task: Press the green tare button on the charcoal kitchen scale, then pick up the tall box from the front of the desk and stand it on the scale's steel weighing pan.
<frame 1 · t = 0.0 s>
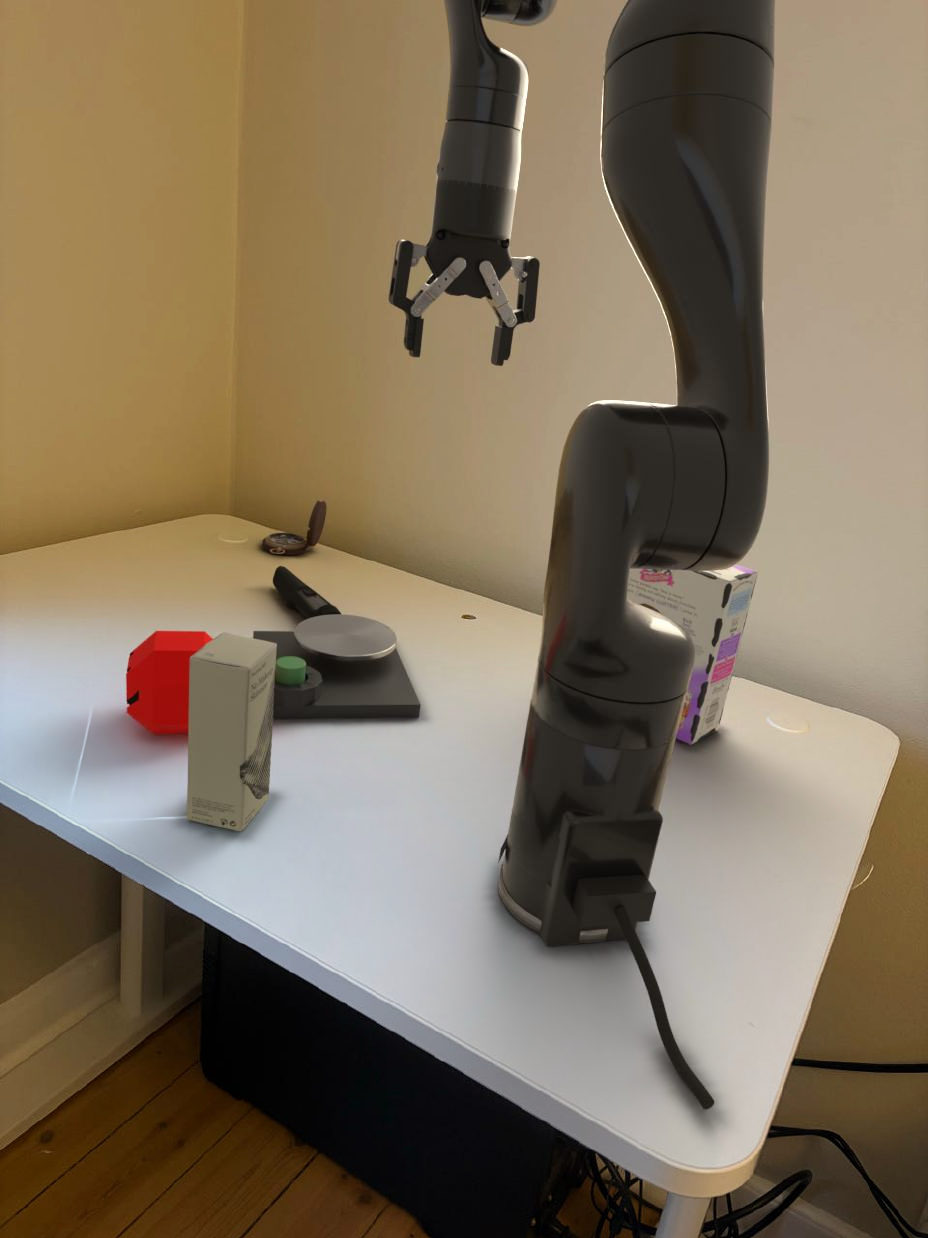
hand: (456, 360, 91), 29 cm above the table, tool pointing down, fingers open, 8 cm apart
red chamfered polyhedron: (179, 725, 77), on the table
box: (229, 811, 67), on the table
candy box: (643, 711, 91), on the table
tare button: (290, 671, 81), point 4 cm above the table, slide at 0.1 cm
compass: (289, 553, 121), on the table
electric trimmer: (304, 615, 102), on the table
scale: (331, 678, 88), on the table
weighing pan: (345, 639, 90), resting on scale
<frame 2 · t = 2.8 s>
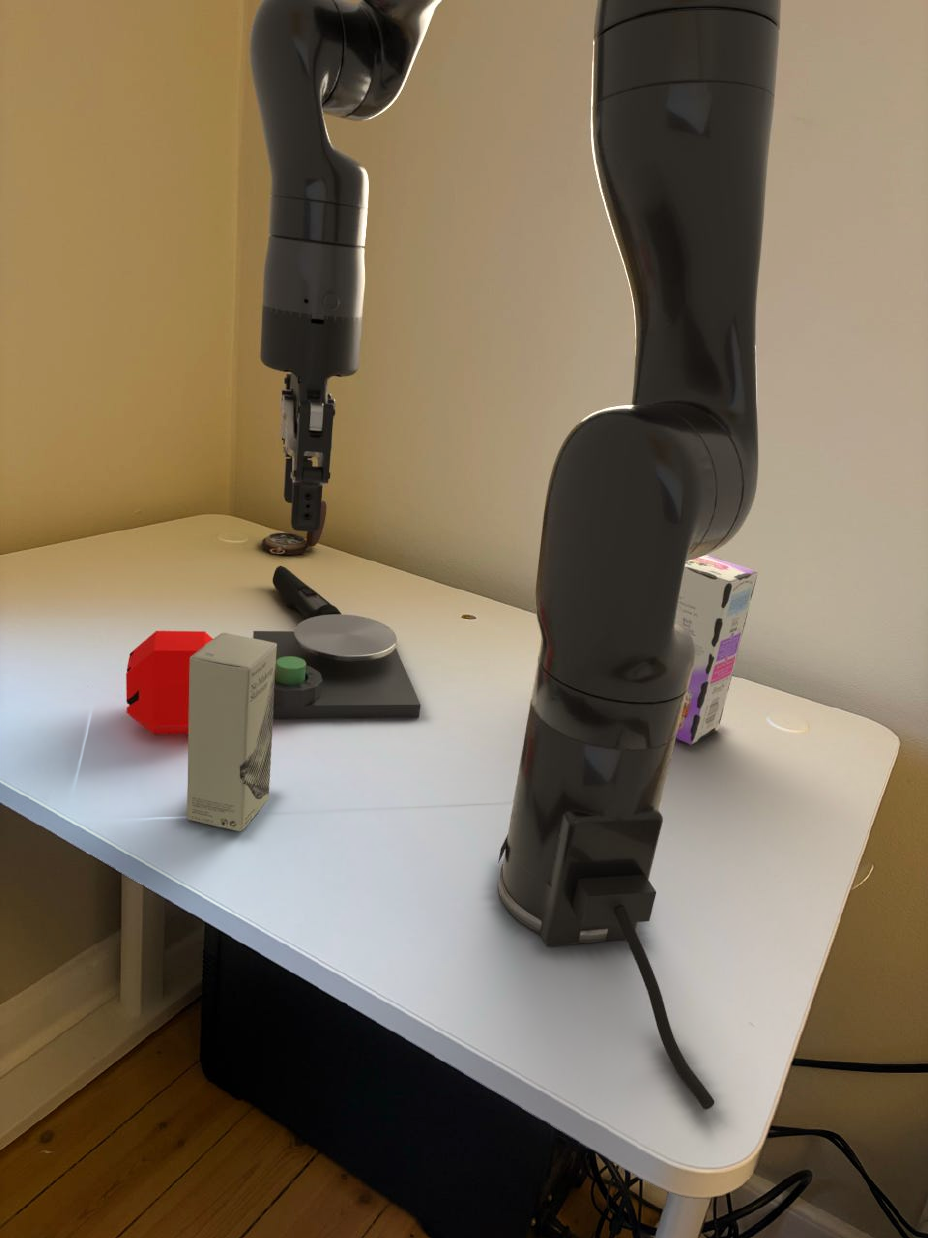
hand: (300, 515, 76), 18 cm above the table, tool pointing down, fingers open, 7 cm apart
nothing on the table moved.
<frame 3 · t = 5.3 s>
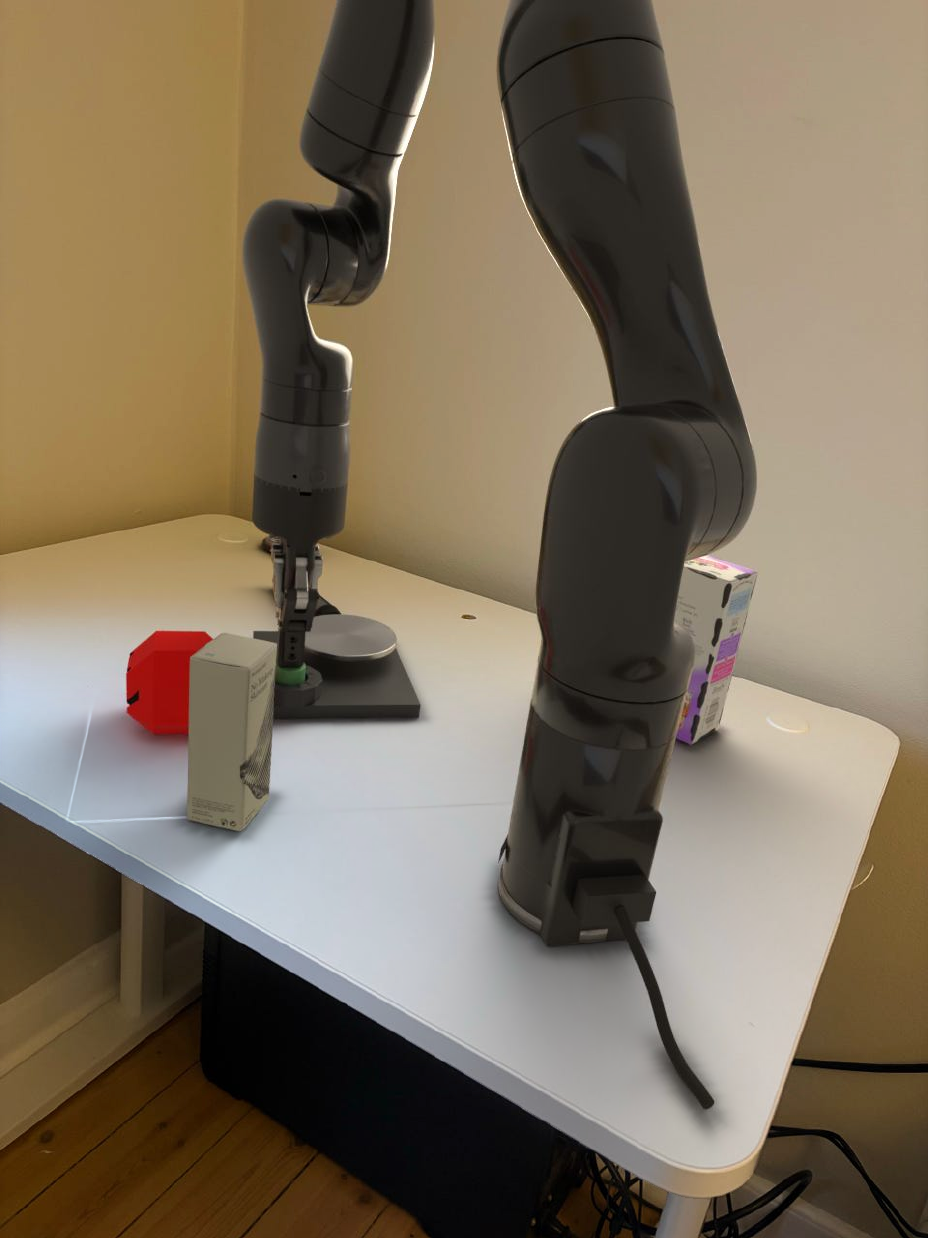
hand: (289, 664, 81), 4 cm above the table, tool pointing down, fingers closed
tare button: (290, 673, 81), point 3 cm above the table, slide at -0.1 cm, touching gripper
everything else where it was.
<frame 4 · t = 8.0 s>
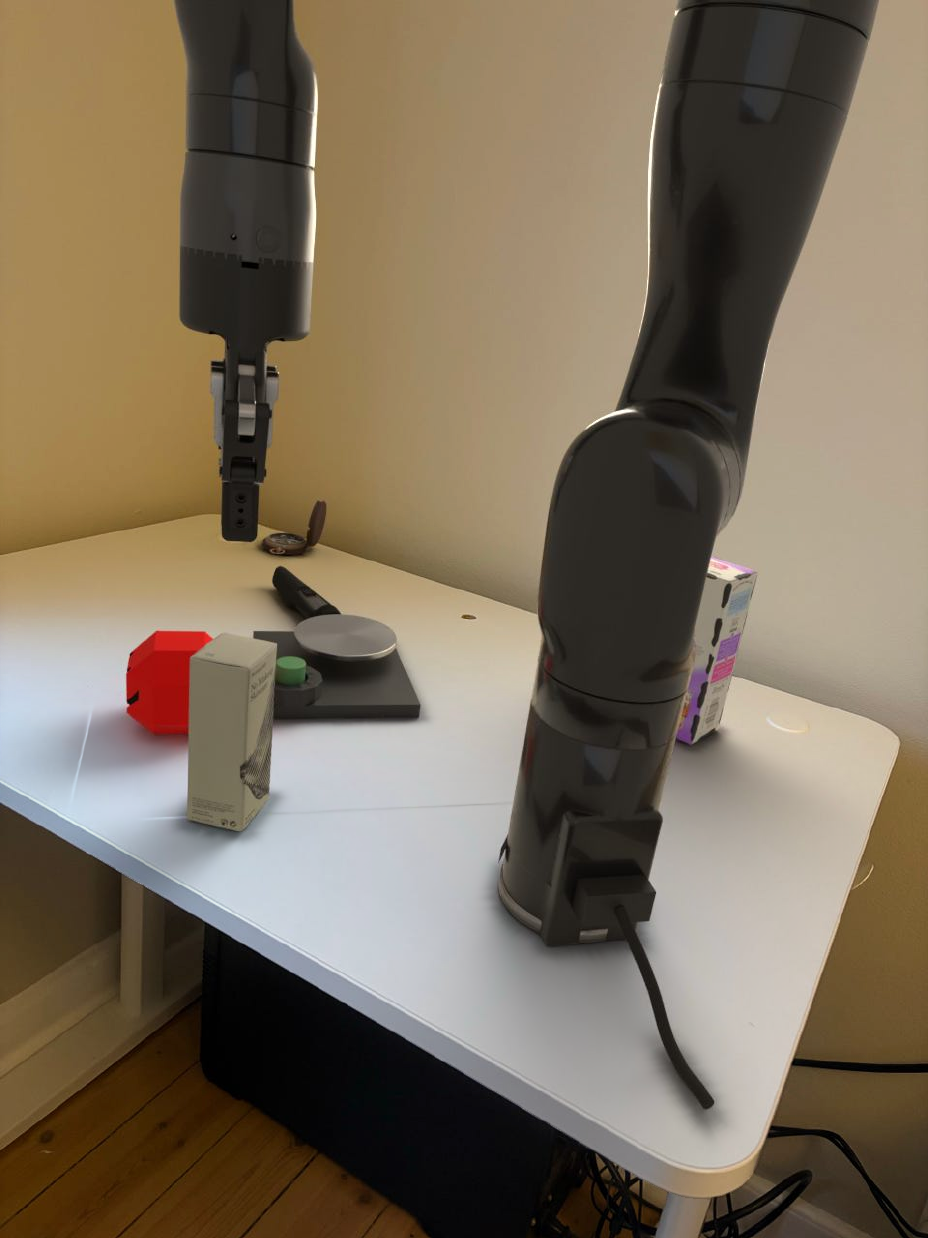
hand: (238, 534, 59), 21 cm above the table, tool pointing down, fingers closed
tare button: (290, 671, 81), point 4 cm above the table, slide at 0.1 cm
everything else where it was.
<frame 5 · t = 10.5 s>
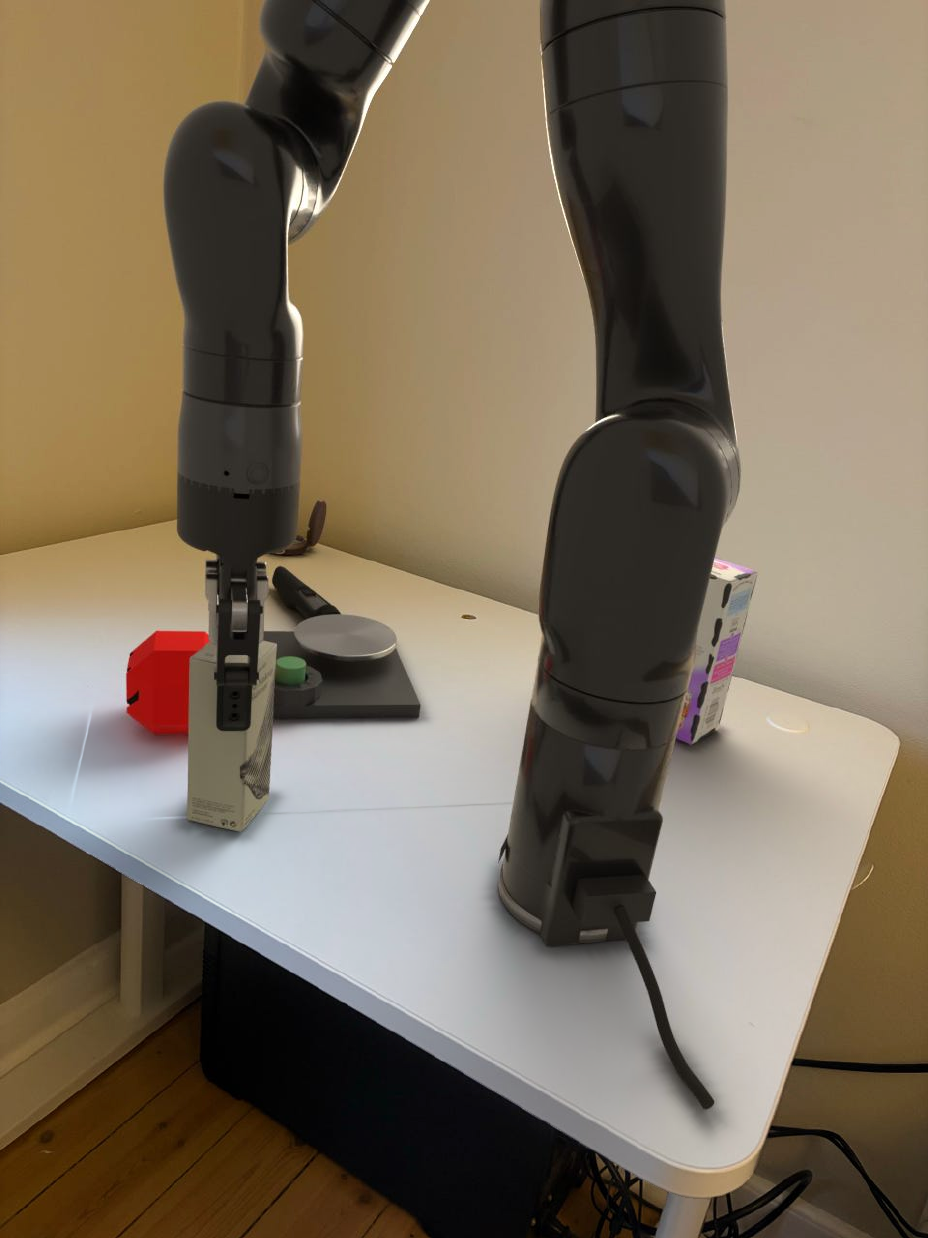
hand: (231, 703, 64), 9 cm above the table, tool pointing down, fingers closed on box, 6 cm apart
box: (229, 811, 67), on the table, touching gripper
everything else where it was.
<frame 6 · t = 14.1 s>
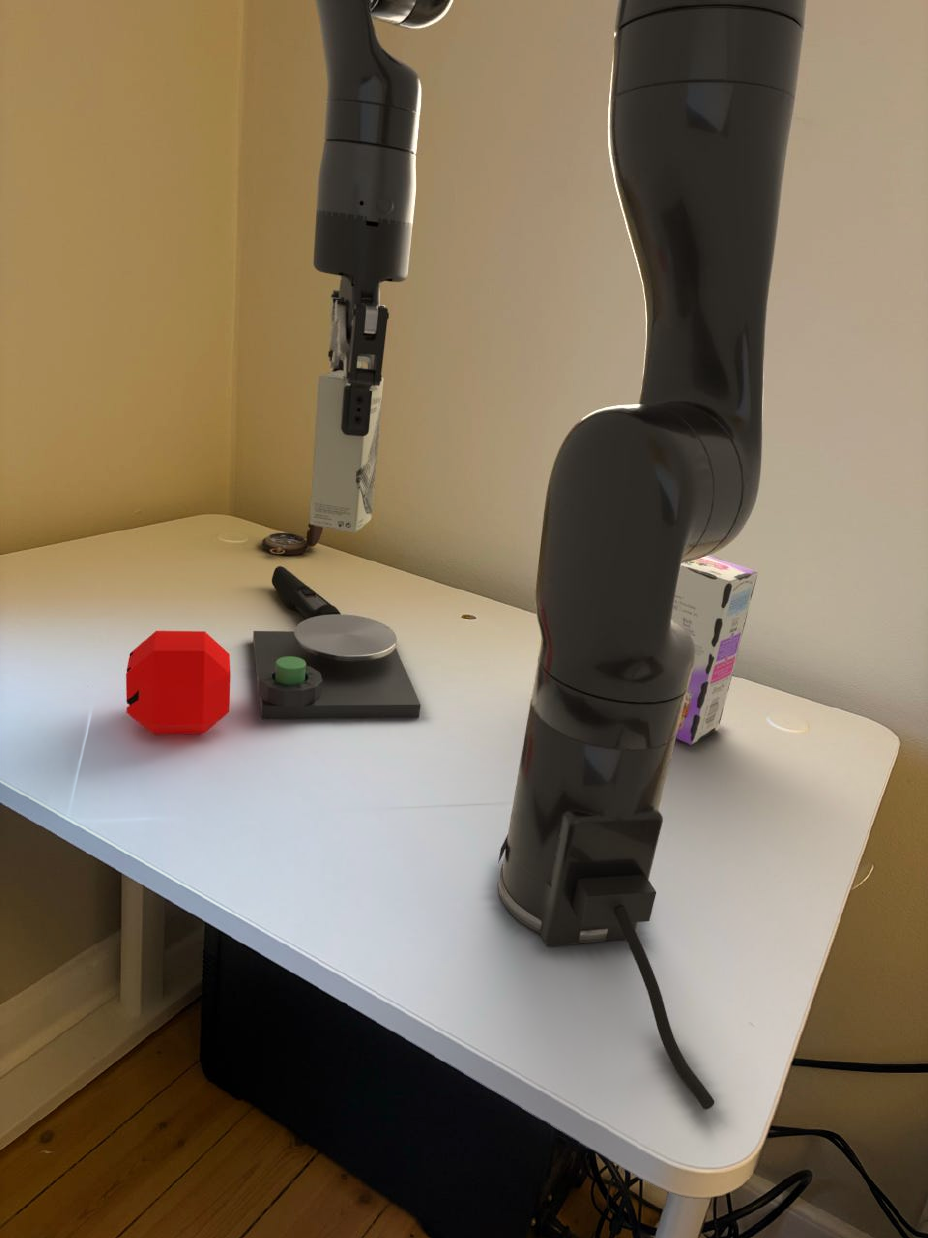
hand: (348, 425, 78), 25 cm above the table, tool pointing down, fingers closed on box, 6 cm apart
box: (340, 525, 81), point 16 cm above the table, touching gripper
everything else where it was.
when the fingers open (12 cm above the table, at t = 17.8 s): box stays where it is, resting on weighing pan.
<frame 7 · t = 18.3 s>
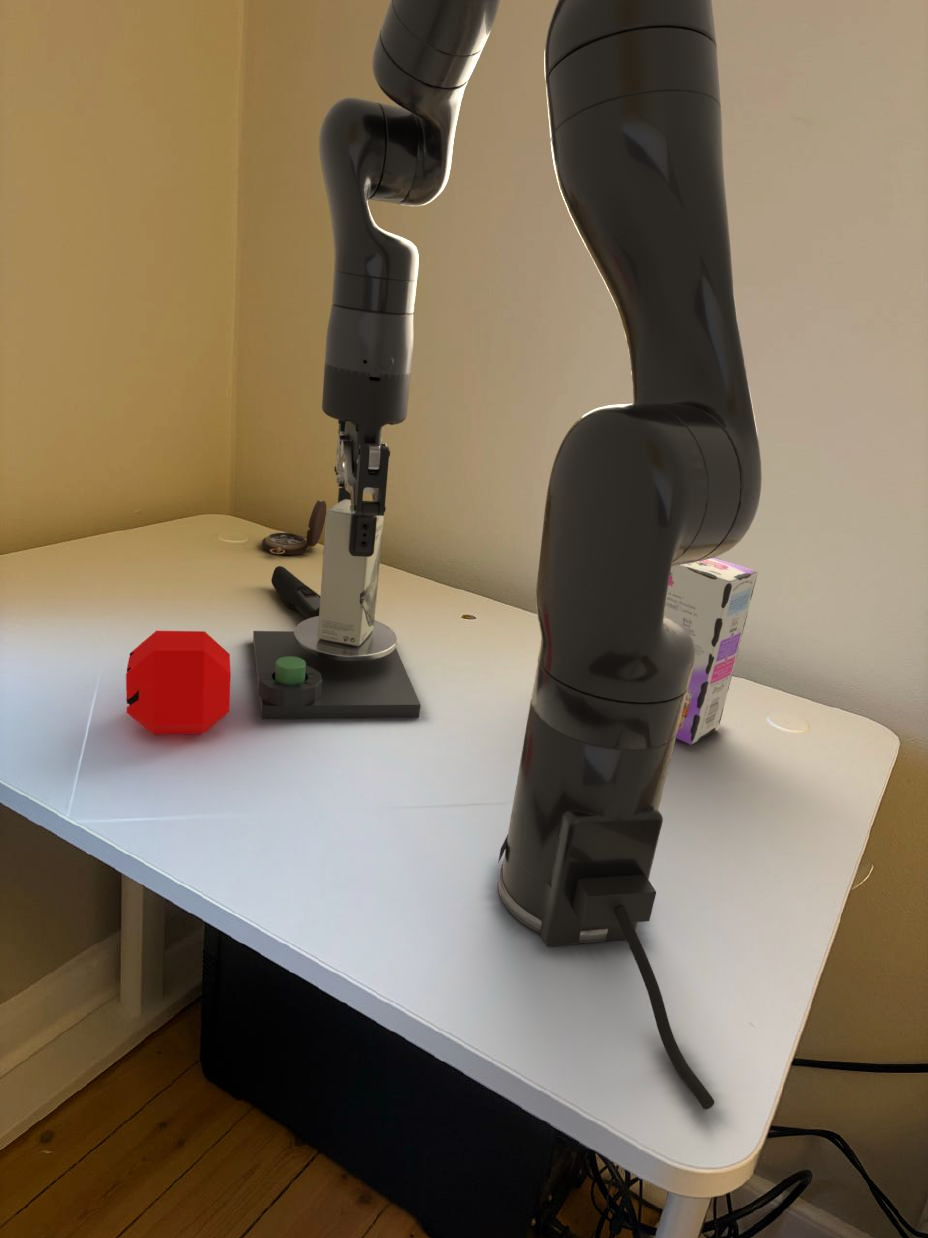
hand: (354, 540, 86), 13 cm above the table, tool pointing down, fingers open, 8 cm apart
box: (345, 636, 90), point 3 cm above the table, touching weighing pan
everything else where it was.
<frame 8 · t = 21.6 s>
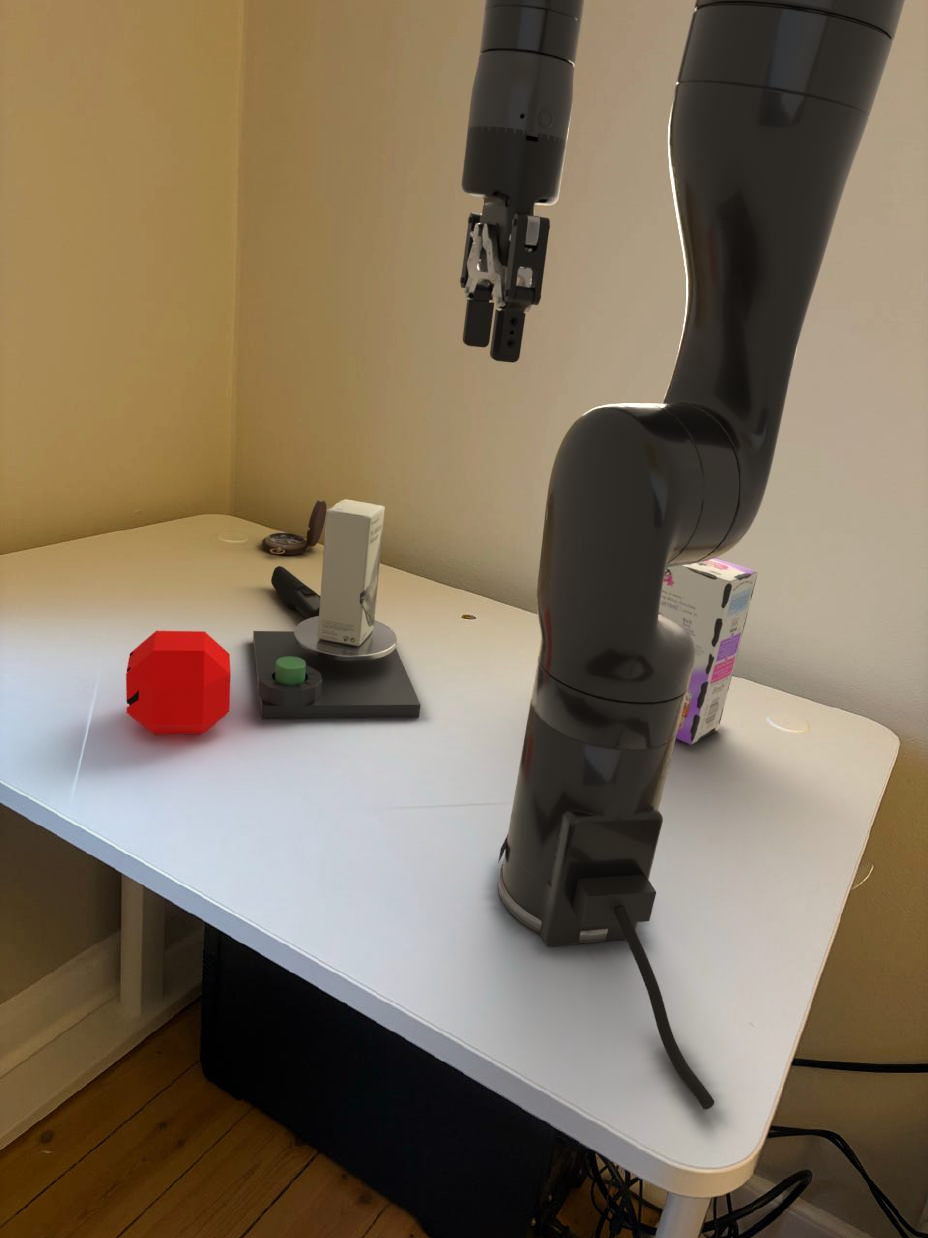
hand: (488, 353, 75), 32 cm above the table, tool pointing down, fingers open, 8 cm apart
nothing on the table moved.
at the end: tare button pushed in 0.9 cm at the most during the clip, back to where it started at the end; box inside the target area on the weighing pan (0.1 cm from its centre), point 0.4 cm above the weighing pan's base; box tilted 0° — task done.
